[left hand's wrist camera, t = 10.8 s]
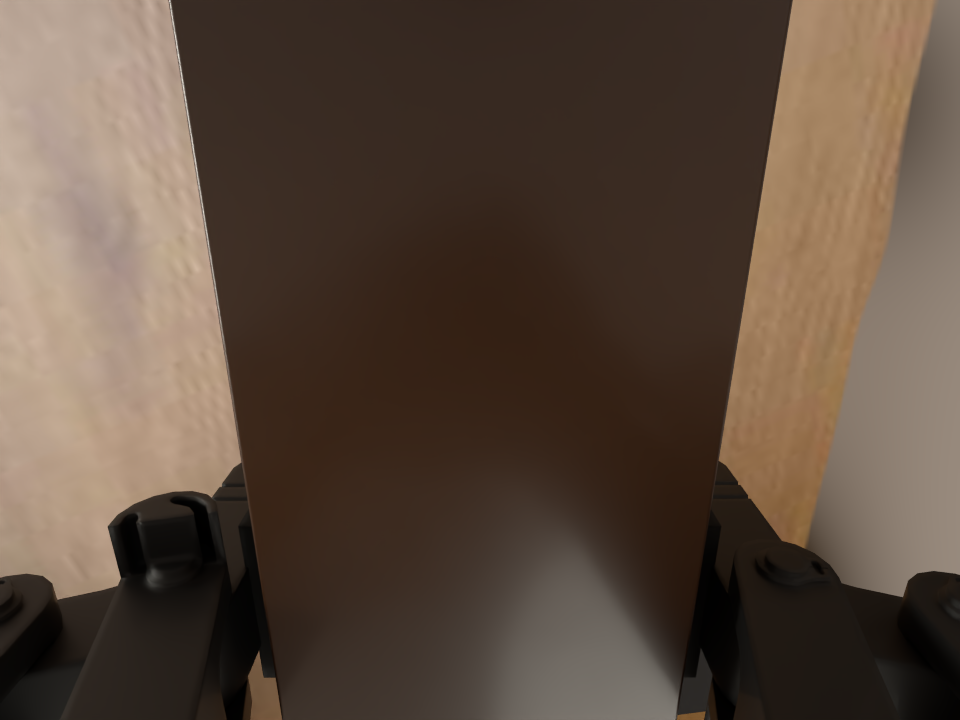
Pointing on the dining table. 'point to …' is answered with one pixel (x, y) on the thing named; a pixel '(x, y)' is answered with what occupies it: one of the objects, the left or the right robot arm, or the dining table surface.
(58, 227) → the dining table surface
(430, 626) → the walnut box
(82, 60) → the dining table surface
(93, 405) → the dining table surface
